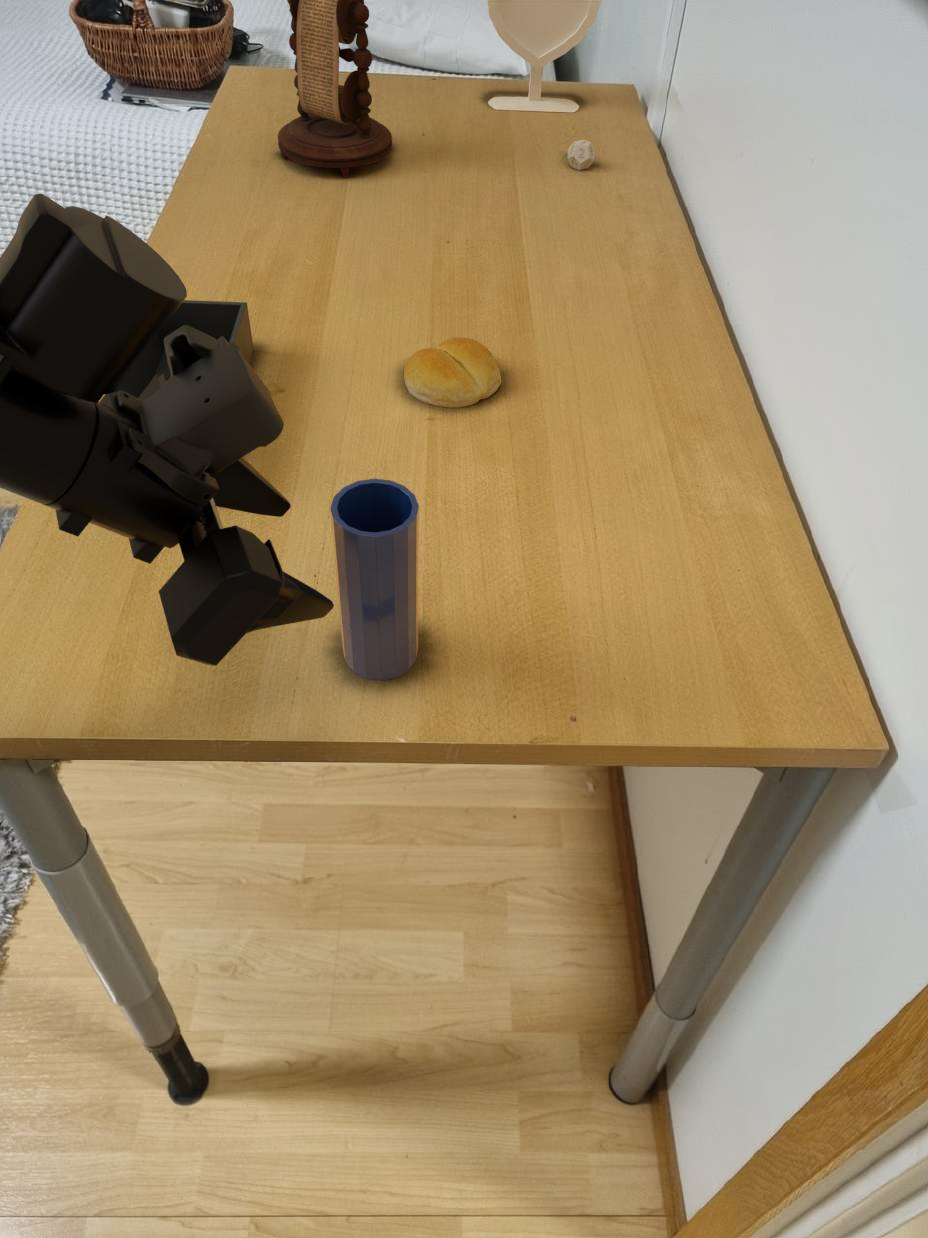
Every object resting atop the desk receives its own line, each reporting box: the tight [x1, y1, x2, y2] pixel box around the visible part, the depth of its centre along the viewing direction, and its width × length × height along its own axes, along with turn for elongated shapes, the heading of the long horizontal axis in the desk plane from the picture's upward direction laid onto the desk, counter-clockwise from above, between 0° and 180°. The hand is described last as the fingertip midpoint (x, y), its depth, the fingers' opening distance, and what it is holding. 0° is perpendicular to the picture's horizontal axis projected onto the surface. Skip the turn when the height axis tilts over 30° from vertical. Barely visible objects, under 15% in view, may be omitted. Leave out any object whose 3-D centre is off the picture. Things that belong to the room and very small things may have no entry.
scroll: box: [277, 0, 393, 178], centre depth 115 cm, size 15×15×20 cm
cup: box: [330, 478, 420, 681], centre depth 61 cm, size 5×5×14 cm
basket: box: [115, 299, 255, 398], centre depth 82 cm, size 22×9×6 cm, turn 0°
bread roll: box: [403, 336, 502, 409], centre depth 87 cm, size 8×9×4 cm
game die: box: [567, 139, 596, 171], centre depth 123 cm, size 4×4×3 cm
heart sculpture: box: [487, 0, 602, 113], centre depth 131 cm, size 16×5×18 cm, turn 91°
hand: (306, 557), depth 56 cm, fingers open, 9 cm apart
